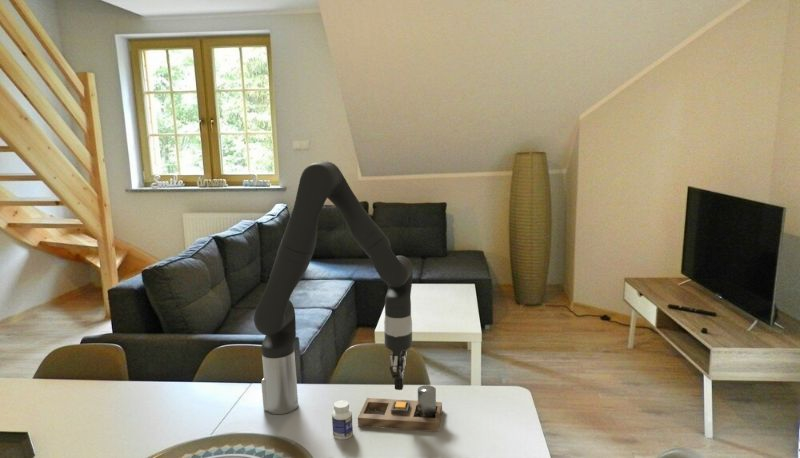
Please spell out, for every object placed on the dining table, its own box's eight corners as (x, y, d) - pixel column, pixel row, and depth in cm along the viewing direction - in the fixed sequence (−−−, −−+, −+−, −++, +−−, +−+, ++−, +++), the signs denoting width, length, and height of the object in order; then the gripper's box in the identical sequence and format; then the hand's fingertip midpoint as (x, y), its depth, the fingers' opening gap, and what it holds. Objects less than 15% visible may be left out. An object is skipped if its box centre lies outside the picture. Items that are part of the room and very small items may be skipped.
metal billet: (416, 423, 147) (416, 393, 145) (418, 414, 152) (418, 384, 150) (435, 425, 146) (435, 394, 145) (436, 415, 151) (436, 385, 149)
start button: (394, 410, 149) (394, 406, 148) (396, 405, 151) (396, 401, 151) (404, 411, 148) (404, 407, 148) (406, 406, 151) (406, 402, 151)
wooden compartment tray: (358, 426, 147) (357, 413, 146) (367, 405, 158) (366, 394, 157) (438, 431, 143) (437, 418, 142) (442, 410, 154) (441, 398, 153)
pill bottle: (349, 441, 140) (347, 409, 138) (330, 439, 141) (328, 408, 139) (355, 429, 145) (353, 399, 144) (336, 428, 146) (334, 398, 145)
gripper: (389, 320, 153) (390, 376, 156) (379, 338, 140) (380, 399, 143) (415, 321, 151) (415, 378, 155) (408, 340, 138) (408, 401, 142)
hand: (399, 388), depth 149 cm, fingers closed
